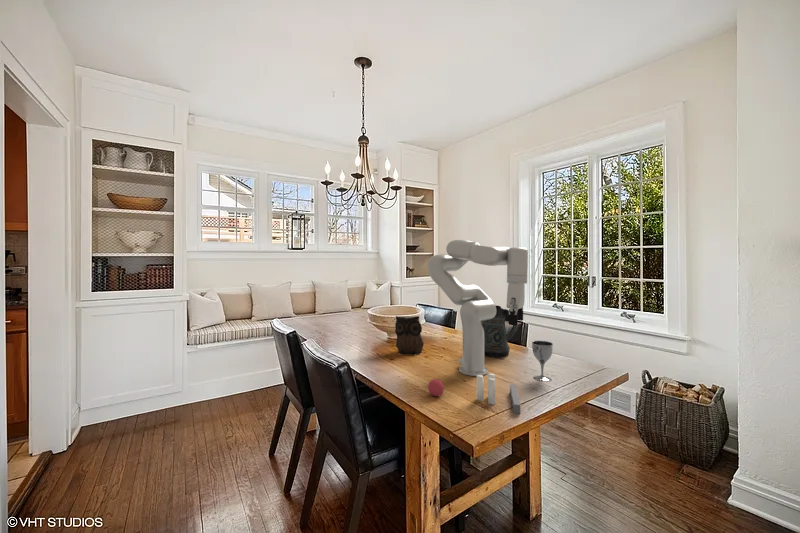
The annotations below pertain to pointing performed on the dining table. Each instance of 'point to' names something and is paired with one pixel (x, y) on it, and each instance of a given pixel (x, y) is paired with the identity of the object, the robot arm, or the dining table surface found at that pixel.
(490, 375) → the back left pin
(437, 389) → the ball
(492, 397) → the back right pin
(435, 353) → the dining table surface
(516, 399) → the back wall
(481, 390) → the front pin
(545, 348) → the wine glass
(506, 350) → the beer stein
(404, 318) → the owl
